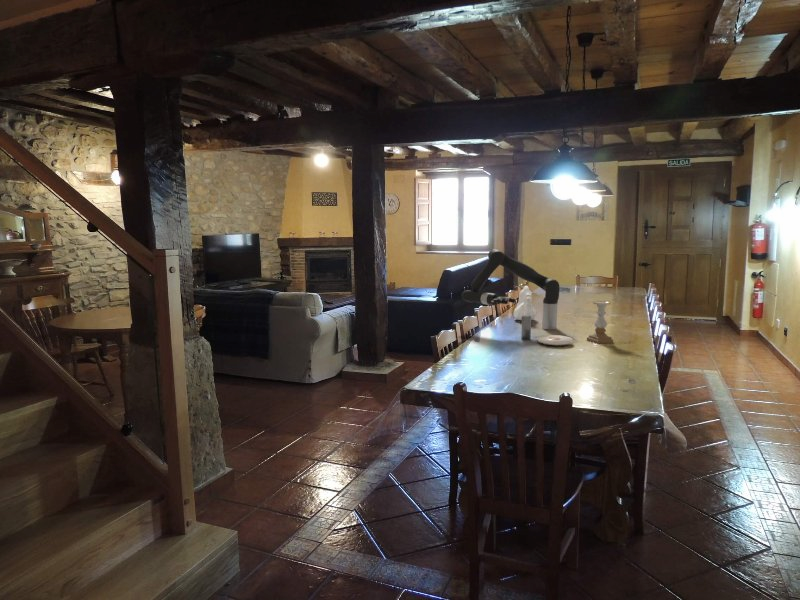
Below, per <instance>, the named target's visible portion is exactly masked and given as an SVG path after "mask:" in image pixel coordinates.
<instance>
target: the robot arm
mask: <svg viewBox="0 0 800 600" xmlns="http://www.w3.org/2000/svg"><path fill="white" fill-rule="evenodd" d="M487 258H488V262H487V263H486V265H485V267H484V268H483V269H482V270H481V271H480V272H479V273H478V274H477V275H476V277H475V278H474V279H473V281H472V282H471V284H470V287H471V290H470V289H469V290H467V289H466V290H464V291H462V292H461V299H462V300H463V301H465V302H467V303H470V304H473V303H476V304H483V305H488V306H496V305H502V304H503V305H508V303H516V298H512V297H508V296H507V297H506V296H499V294H497V293H493V292H480V290H481V289H482V288H483V286H484V285H485V283H486V282H487V281H488V279H489V278H490V276H492V274H493V273H494V271H496V269H498V267H499V266H501V267H504V268H506V270H508V271H509V272H510V273H512V274H513V275H515V276H517V277H518V278H521V279H522V280H524V281H526V282H529V283H531V284H534V285H536V286H537V287H539V288H541V290H543V291H544V292H545V296H544V298H543V300H542V302H543V303H542V329H543V330H548V331H549V330H551V331H552V330H557V327H558V302H559V298H560V283H559V282H558V280H556V279H554V278H550V277H547V276H544V275H542V274H541V273H539V272H537V270H535V269H534V268H533V267H531V266H529V265H528V264H526V263H524V262H522V261H519V260H517V259H515V258H512V257H510V256H508V255H507V254H505V253H504V252H502V251H501V250H500V249H498V248H493V249H491V250H490V251H489V252H488V254H487Z"/></svg>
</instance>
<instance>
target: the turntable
mask: <svg viewBox="0 0 800 600" xmlns="http://www.w3.org/2000/svg"><path fill="white" fill-rule="evenodd" d="M537 342H539V343H540V344H542V343H544V344H551V345H566V344H567V345H570V344H572V343H573V338H572V337H569V336H565V335H559V334H558V335H557V334H545V335H539V336H537ZM544 344H543V345H544ZM567 345H566V346H567Z"/></svg>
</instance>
